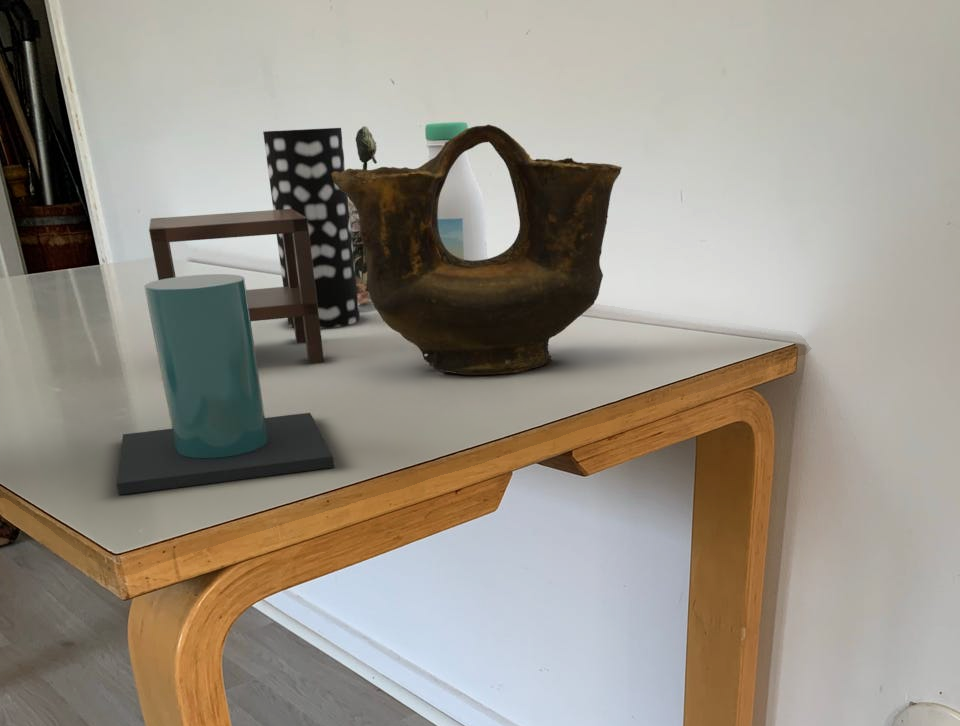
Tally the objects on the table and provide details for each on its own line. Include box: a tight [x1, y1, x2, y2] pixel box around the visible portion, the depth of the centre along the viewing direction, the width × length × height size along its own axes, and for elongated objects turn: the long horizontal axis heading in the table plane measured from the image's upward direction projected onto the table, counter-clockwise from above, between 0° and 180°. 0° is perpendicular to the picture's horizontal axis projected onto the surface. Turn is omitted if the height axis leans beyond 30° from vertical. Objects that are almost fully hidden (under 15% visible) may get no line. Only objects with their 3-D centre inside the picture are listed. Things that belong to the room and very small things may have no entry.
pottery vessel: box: [331, 123, 623, 376], centre depth 87 cm, size 25×11×20 cm, turn 101°
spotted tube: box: [262, 127, 361, 330], centre depth 111 cm, size 8×8×20 cm
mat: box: [116, 412, 335, 496], centre depth 70 cm, size 14×12×1 cm
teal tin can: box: [144, 273, 268, 458], centre depth 68 cm, size 6×9×11 cm
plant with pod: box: [348, 125, 378, 308], centre depth 120 cm, size 8×11×20 cm
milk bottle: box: [424, 121, 488, 261], centre depth 110 cm, size 8×8×20 cm
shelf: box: [148, 209, 325, 364], centre depth 97 cm, size 14×12×13 cm
